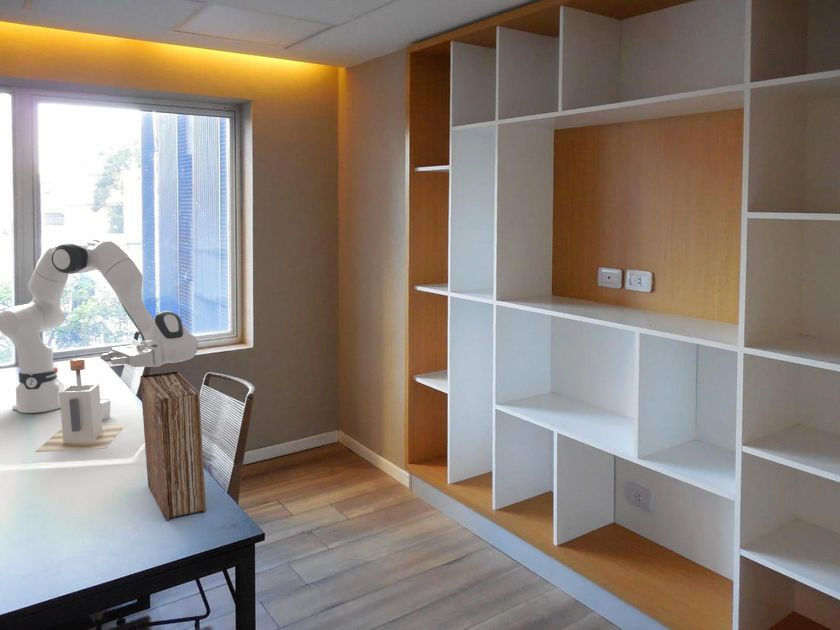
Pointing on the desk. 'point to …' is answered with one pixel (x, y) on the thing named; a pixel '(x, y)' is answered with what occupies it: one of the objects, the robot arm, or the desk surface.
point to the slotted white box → (80, 413)
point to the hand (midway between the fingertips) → (106, 359)
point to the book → (173, 443)
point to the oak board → (99, 443)
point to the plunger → (77, 370)
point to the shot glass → (105, 408)
